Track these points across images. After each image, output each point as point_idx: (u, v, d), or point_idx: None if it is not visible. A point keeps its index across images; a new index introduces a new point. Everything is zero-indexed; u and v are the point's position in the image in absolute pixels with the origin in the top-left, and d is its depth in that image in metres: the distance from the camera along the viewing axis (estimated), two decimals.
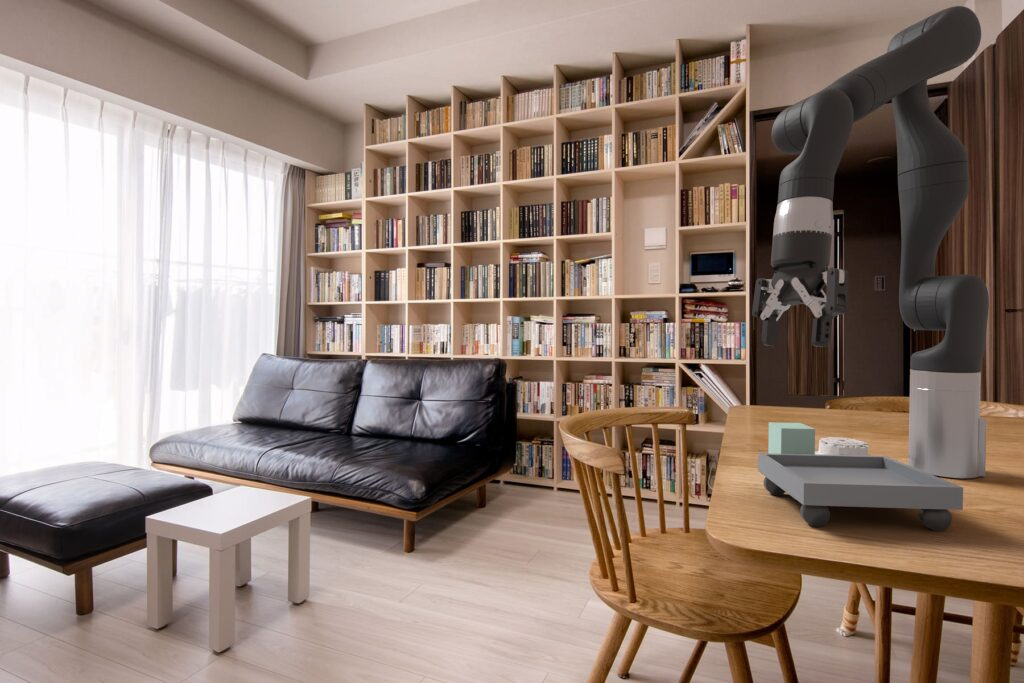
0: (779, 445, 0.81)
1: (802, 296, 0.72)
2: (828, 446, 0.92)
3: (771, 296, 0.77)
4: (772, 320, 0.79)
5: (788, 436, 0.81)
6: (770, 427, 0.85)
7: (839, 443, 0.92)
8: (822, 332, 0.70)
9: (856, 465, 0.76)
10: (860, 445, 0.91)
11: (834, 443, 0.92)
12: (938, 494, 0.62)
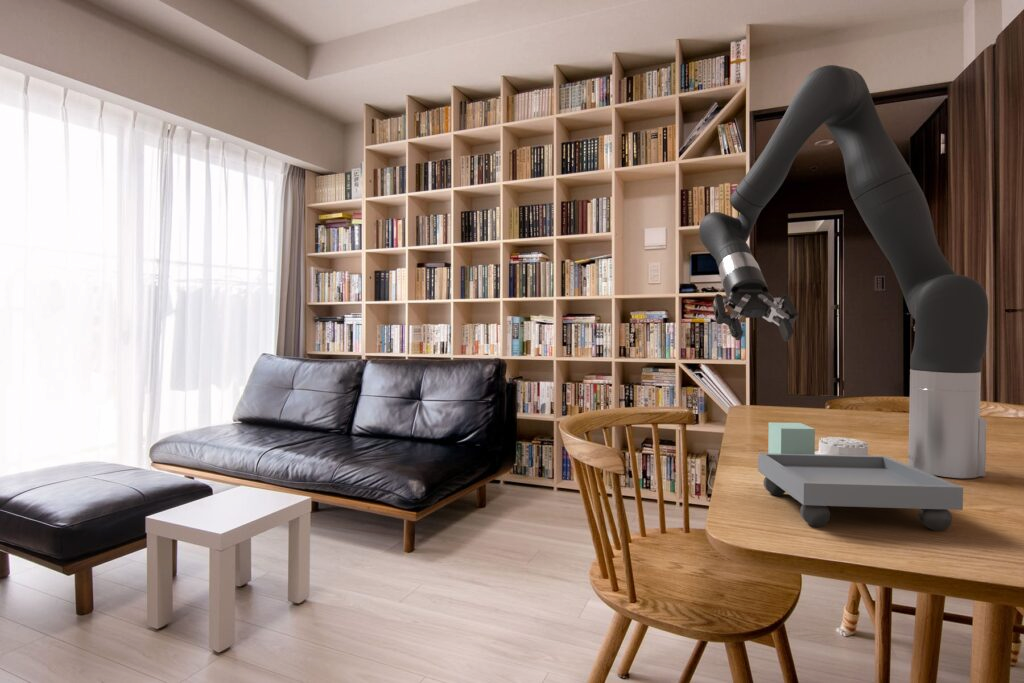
0: (779, 445, 0.81)
1: None
2: (828, 446, 0.92)
3: None
4: (780, 323, 0.96)
5: (788, 437, 0.80)
6: (770, 427, 0.85)
7: (839, 443, 0.92)
8: (731, 332, 0.96)
9: (856, 465, 0.76)
10: (860, 445, 0.91)
11: (834, 443, 0.92)
12: (938, 494, 0.62)
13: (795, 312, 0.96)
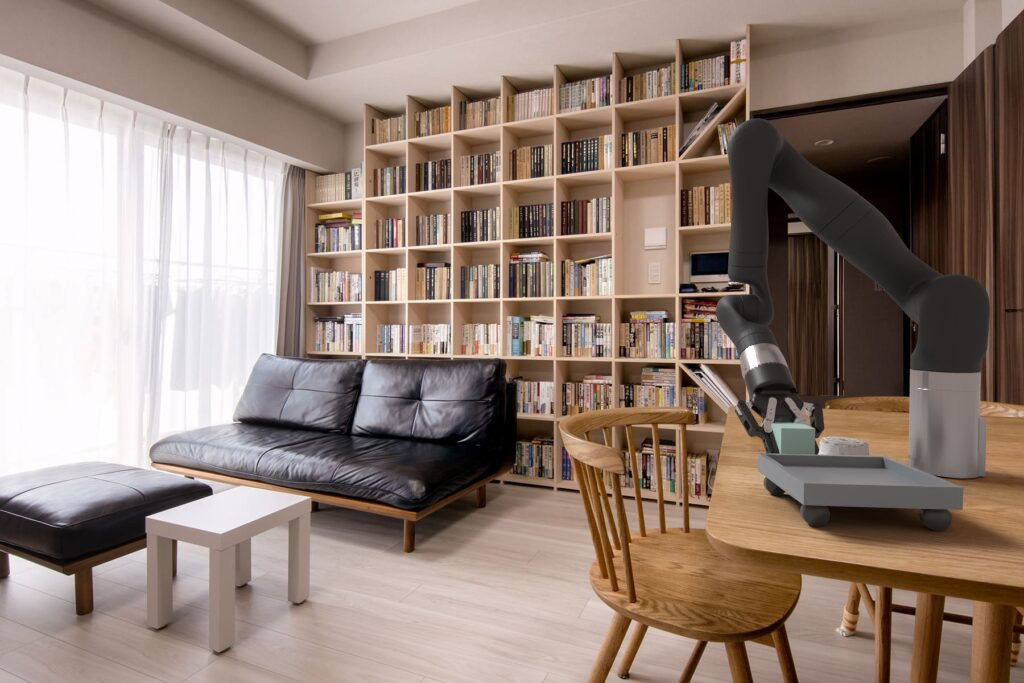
0: (779, 444, 0.81)
1: None
2: (829, 445, 0.93)
3: None
4: None
5: (788, 436, 0.80)
6: None
7: (840, 442, 0.92)
8: (765, 449, 0.84)
9: (856, 465, 0.76)
10: (861, 444, 0.91)
11: (835, 443, 0.92)
12: (938, 494, 0.62)
13: (820, 426, 0.83)
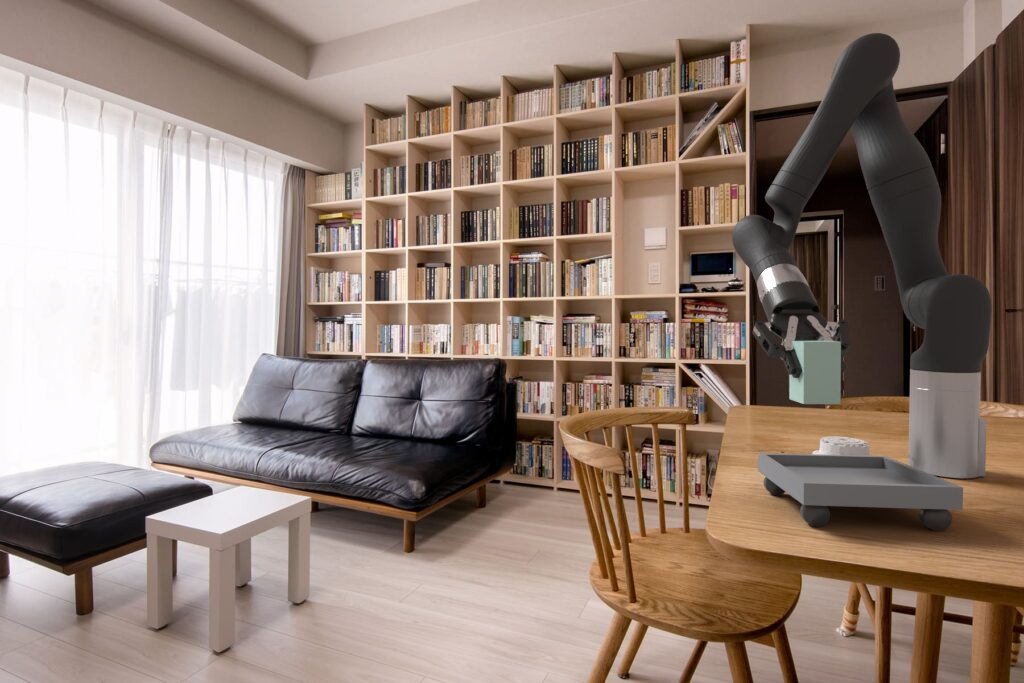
0: (801, 360, 0.75)
1: None
2: (829, 445, 0.93)
3: None
4: None
5: (811, 351, 0.74)
6: None
7: (840, 442, 0.92)
8: (786, 368, 0.78)
9: (856, 465, 0.76)
10: (861, 444, 0.91)
11: (835, 442, 0.93)
12: (938, 494, 0.62)
13: (846, 342, 0.77)
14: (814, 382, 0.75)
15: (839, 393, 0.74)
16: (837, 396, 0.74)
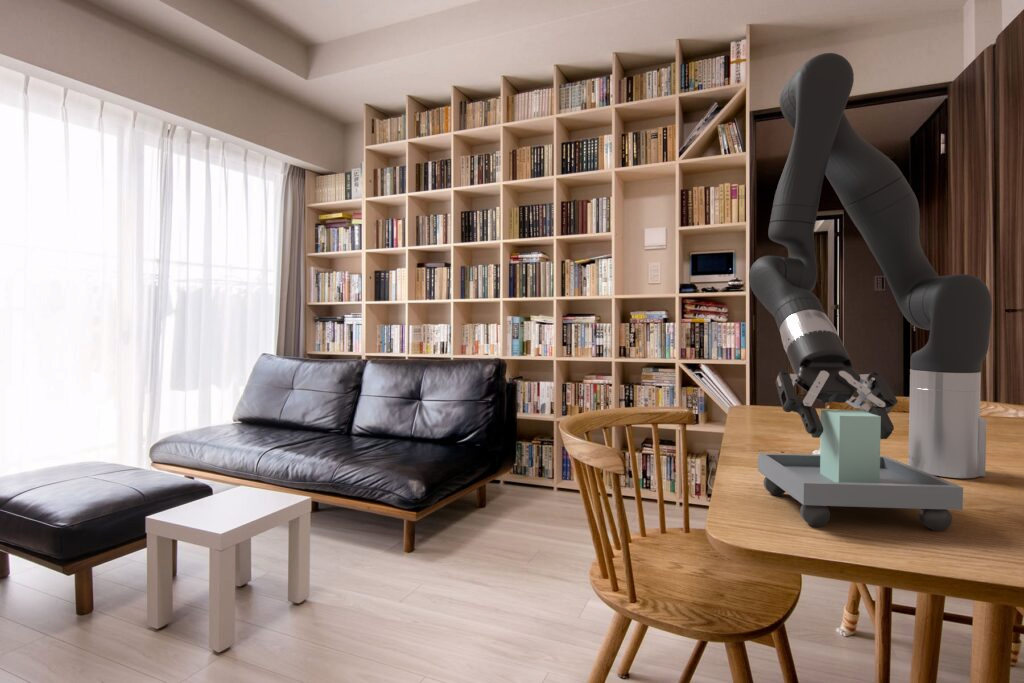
0: (836, 436, 0.68)
1: None
2: None
3: None
4: (872, 412, 0.71)
5: (848, 426, 0.67)
6: (823, 415, 0.72)
7: None
8: (805, 426, 0.71)
9: None
10: None
11: None
12: (938, 494, 0.62)
13: (893, 398, 0.71)
14: (850, 461, 0.67)
15: (878, 473, 0.67)
16: (875, 477, 0.67)
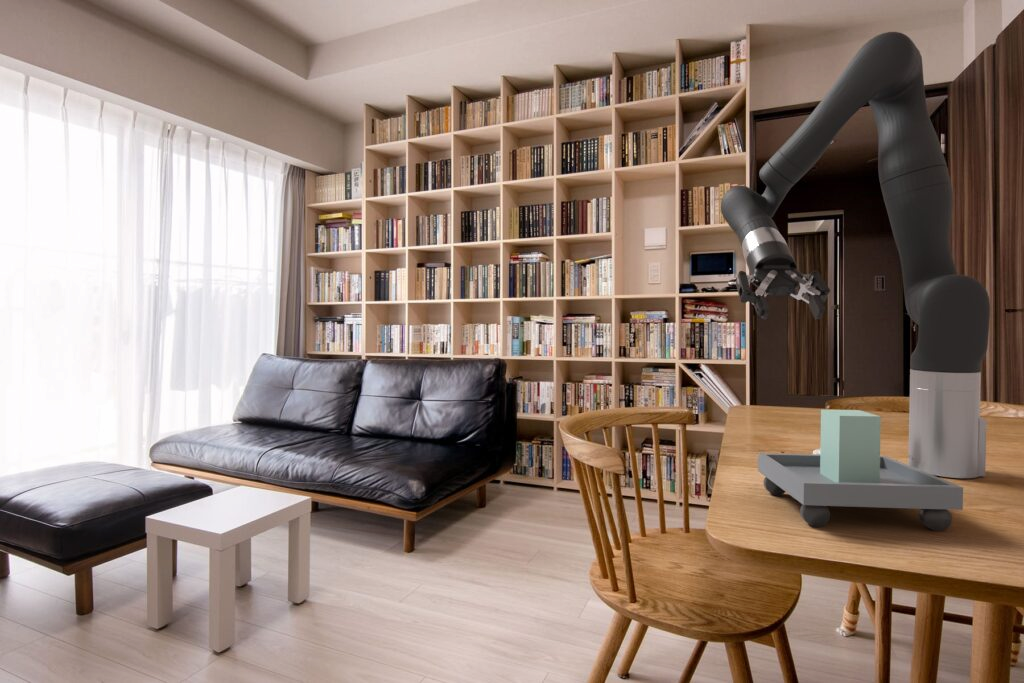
0: (836, 436, 0.68)
1: None
2: None
3: None
4: (810, 300, 0.89)
5: (848, 426, 0.67)
6: (823, 415, 0.72)
7: None
8: (756, 311, 0.89)
9: None
10: None
11: None
12: (938, 494, 0.62)
13: (826, 288, 0.89)
14: (850, 461, 0.67)
15: (878, 473, 0.67)
16: (875, 477, 0.67)
